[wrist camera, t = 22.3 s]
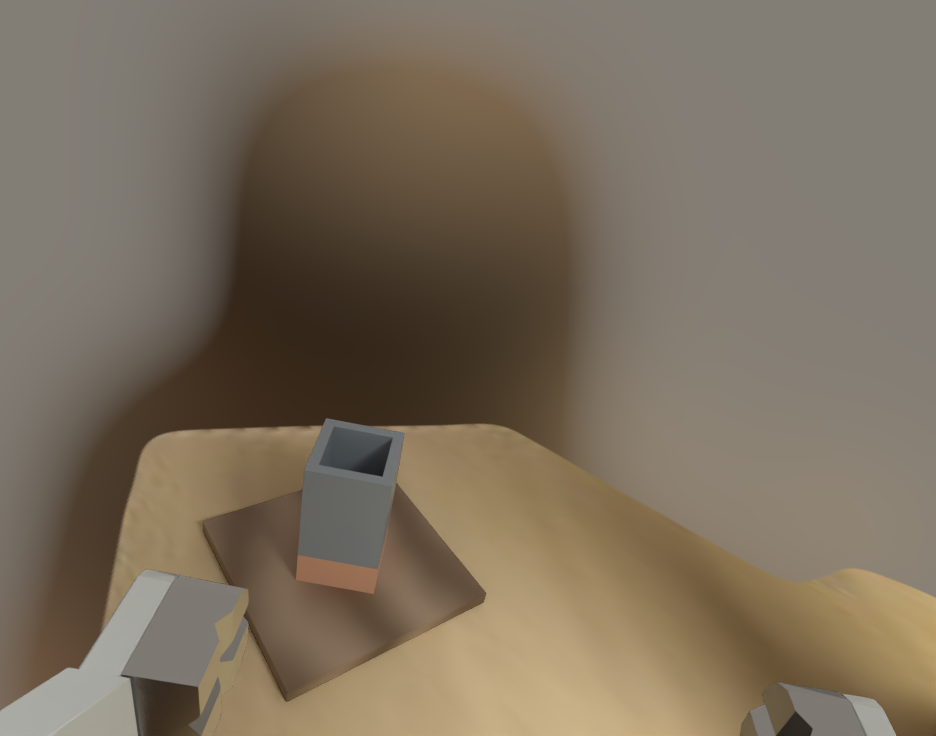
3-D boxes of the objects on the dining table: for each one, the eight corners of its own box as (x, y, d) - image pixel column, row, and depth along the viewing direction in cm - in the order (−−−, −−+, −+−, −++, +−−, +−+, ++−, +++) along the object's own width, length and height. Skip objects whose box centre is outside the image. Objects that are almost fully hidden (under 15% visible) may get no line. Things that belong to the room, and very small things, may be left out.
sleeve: (386, 536, 50) (404, 433, 44) (373, 593, 45) (391, 486, 40) (316, 523, 49) (326, 418, 44) (295, 580, 45) (304, 469, 40)
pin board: (380, 474, 57) (390, 409, 53) (483, 602, 47) (504, 534, 44) (203, 530, 48) (200, 458, 44) (286, 701, 39) (292, 627, 35)
